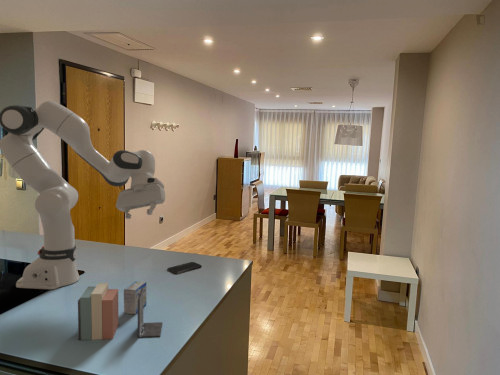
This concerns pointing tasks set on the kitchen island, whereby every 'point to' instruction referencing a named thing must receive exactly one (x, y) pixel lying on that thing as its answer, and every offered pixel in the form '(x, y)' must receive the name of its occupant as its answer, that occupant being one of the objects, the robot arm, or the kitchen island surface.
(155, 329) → the bookends
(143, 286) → the medicine box
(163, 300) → the kitchen island surface
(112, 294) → the books
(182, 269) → the phone
